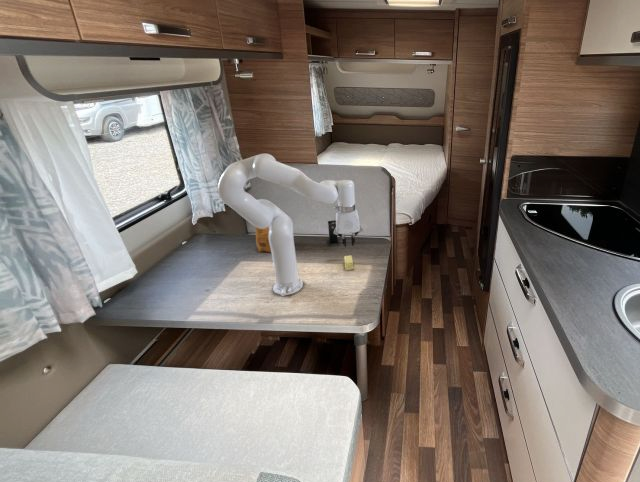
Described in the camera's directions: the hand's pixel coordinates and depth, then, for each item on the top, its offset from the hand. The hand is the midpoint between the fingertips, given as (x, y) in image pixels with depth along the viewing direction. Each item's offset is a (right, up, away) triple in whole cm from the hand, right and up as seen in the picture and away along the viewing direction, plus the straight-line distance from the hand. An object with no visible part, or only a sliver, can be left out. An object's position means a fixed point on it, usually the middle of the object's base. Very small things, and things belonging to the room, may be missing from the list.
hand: (348, 244), depth 154 cm
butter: (-3, -13, +15) cm, 20 cm away
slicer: (-16, -4, +37) cm, 41 cm away
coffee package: (-49, -6, +30) cm, 58 cm away
